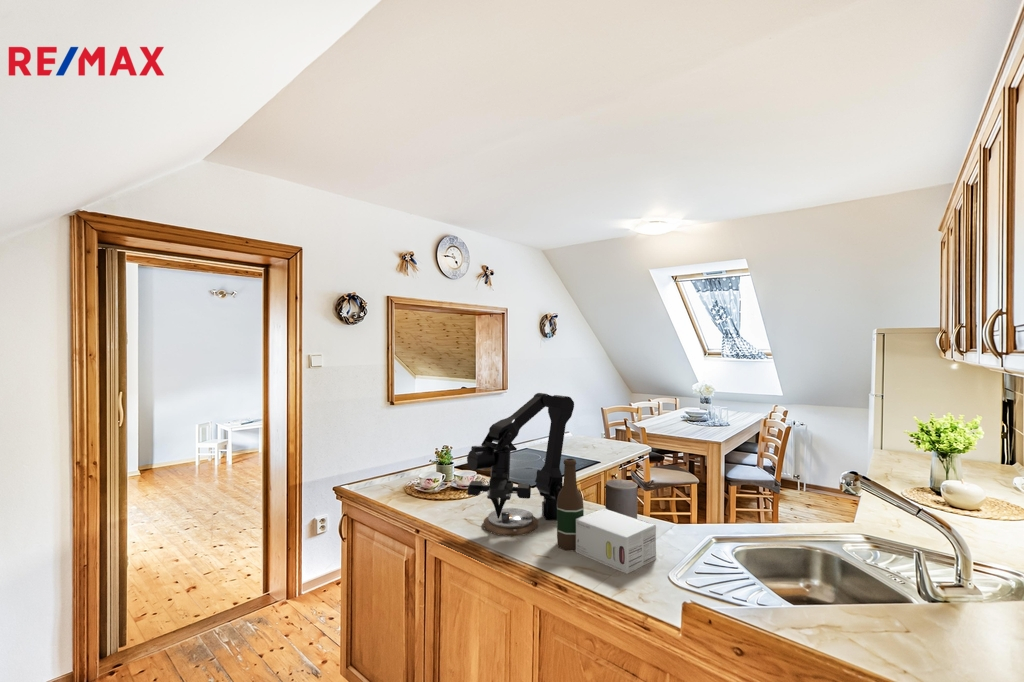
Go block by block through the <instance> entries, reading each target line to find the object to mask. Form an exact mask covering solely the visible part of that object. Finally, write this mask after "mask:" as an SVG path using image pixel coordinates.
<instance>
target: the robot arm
mask: <svg viewBox="0 0 1024 682" xmlns="http://www.w3.org/2000/svg"><path fill="white" fill-rule="evenodd" d="M545 408H547V413H548V417H549V419H550V426H549V433H548V439H547V446H546V453H545V459H544V465H543V466H542V467H541V469H537V470H536V477H535V480H534V483H535V488H537V490H538V491H539V496H540V497H543V501H542V502H541V514H542V516H543V517H544V519H545V520H546V521H557V498H558V495H559V492H560V491H561V489H562V488H563V483H564V476H563V474H562V472H561V462H562V461H561V459H562V453H563V452H562V451H563V445H564V439H565V431H566V427H567V426H566V425H567V423H568V421H569V420H570V419H571V418H572V417H573V416H572V415H573V413H574V412H573V411H574V409H575V401H573V399H572V398H571V396H566V395H558V394H554V395H551V394H547V393H542V392H537V393H535V394H534V395H533V397H531V398H530V399H529V400H528V401H527V402H525V404H523V405H522V406H521V407H520V408H518V410H516V411H515V412H514V413H513V414H512V415H510V416H508V417H506V418H502V419H500V420H498V421H497V422H495V423H492V425H491V426H490V427H489V429H488V432H487V434H486V437H484V439H483V441H482V443H481V445H472V446H471V448H470V449H471V450H470V451H469V452H468V455H467V457H466V461H467V462H466V463H467V466H468V468H469V469H470V470H471V471H479V470H486V469H490V479H489V483H488V484H484V481H482V480H471V481H470V482H469V484H468V485H467V495H468V496H479V495H480V494H481V492H487V497H486V499H489V500H490V501H491V502H492V504H493V506H494V511H495V510H496V514H497V517H498V518H499V517H500V514H501V511H502V509H504V505H505V504H506V501H509V500H511V497H512V494H516V496H517V497H518V498H519V499H525V500H527V499H531V495H532V492H531V491H532V485H530V484H529V483H517V484H518V485H517V486H514V480H510V478H511V477H510V476H511V475H510V474H511V452H515V451H517V449H518V448H517V447H516V446H514V444H513V442H514V440H515V439H516V438H517V436H519V432H520V430H521V429H522V427H523V426H524V425H526V424H527V423H529V421H530V420H531V419H533V418H534V417H535V416H536V415H537V414H538V413H540V412H541V411H542V410H543V409H545Z"/></svg>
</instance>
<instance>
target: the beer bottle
mask: <svg viewBox="0 0 1024 682" xmlns="http://www.w3.org/2000/svg"><path fill="white" fill-rule="evenodd" d="M563 464H564V466H563V468H564V469H563V488H562V489H561V491H560V492H559V495H558V498H557V520H556V540H557V543H556V544H557V547H558V549H561V550H563V551H567V552H569V551H574V552H576V519H577V518H579V517H582V516H585V515H584V512H585V511H584V510H585V509H584V500H583V497H582V495H581V492H580V490H579V488H578V483H577V468H576V467H577V466H576V465H577V461H576V459H574V458H570V457H569V458H564V460H563Z"/></svg>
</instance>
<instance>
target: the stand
mask: <svg viewBox="0 0 1024 682" xmlns="http://www.w3.org/2000/svg"><path fill="white" fill-rule="evenodd" d="M538 528H539V519H538V518H537V517H535V516H534V515H533V523H532V524H530V525H529V526H526V527H522V528H515V529H506V528H499V527H495V526H493V525H491V524H490V523H489V521H488V516H486V517H485V518H484V519H483V529H485V531H487V532H489V533H491V532H492V533H491V534H494V533H495V534H494V535H498V534H499V536H505V535H507V536H510V537H511V536H512V537H513V536H514V537H516V536H522V535H527V534H530V533H533V532H535V531H536V530H537V529H538Z"/></svg>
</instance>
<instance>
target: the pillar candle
mask: <svg viewBox="0 0 1024 682" xmlns="http://www.w3.org/2000/svg"><path fill="white" fill-rule="evenodd" d="M638 486H639V485H638V483H636V482H634V481H632V480H627V479H622V478H620V479H617V478H616V479H615V478H614V479H609V480H607V481H606V482H605V493H604V495H605V501H604V502H605V508H604V509H608V510H611V511H614V512H617V513H620V514H623V515H626V516H629V517H632V518H635V519H638Z"/></svg>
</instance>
